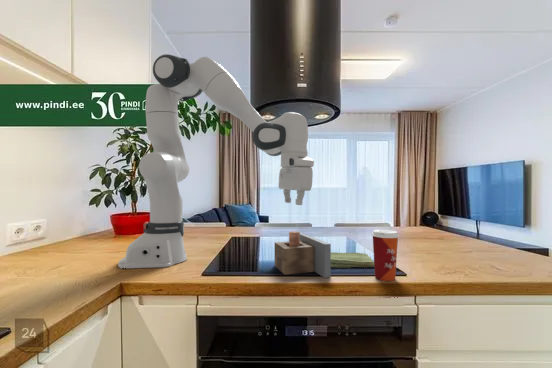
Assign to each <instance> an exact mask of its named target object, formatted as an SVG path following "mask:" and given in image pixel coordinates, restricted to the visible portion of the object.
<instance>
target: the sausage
mask: <svg viewBox="0 0 552 368" xmlns="http://www.w3.org/2000/svg"><path fill="white" fill-rule="evenodd" d="M297 231H298V230H297ZM297 231H295V230H293V231H292V230H291V231H289V232H288V242H289V247H292V246H300V232H301V231H299V232H297Z"/></svg>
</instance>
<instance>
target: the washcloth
mask: <svg viewBox="0 0 552 368" xmlns="http://www.w3.org/2000/svg"><path fill="white" fill-rule="evenodd" d="M351 267H364V268H365V267H366V268H367V267H374V259H372V257H371V256H369V254H367V253H364V252H335V251H334V252H331V269H333V268H334V269H337V268H338V269H352V268H351Z"/></svg>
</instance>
